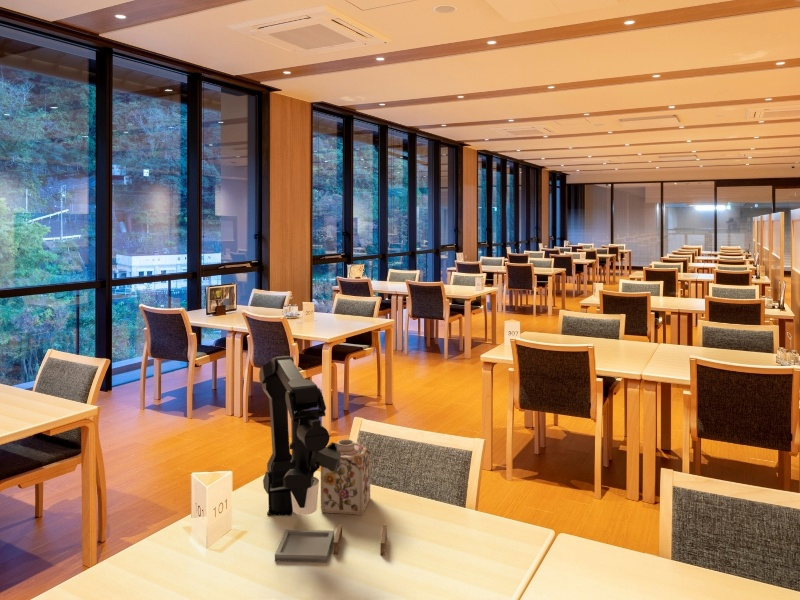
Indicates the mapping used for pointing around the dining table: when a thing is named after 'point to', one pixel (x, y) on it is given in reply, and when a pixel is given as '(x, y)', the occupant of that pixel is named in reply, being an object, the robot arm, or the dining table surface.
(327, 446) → the robot arm
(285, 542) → the tray
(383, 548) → the wooden pieces
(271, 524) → the dining table surface
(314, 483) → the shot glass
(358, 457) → the decorative jar
